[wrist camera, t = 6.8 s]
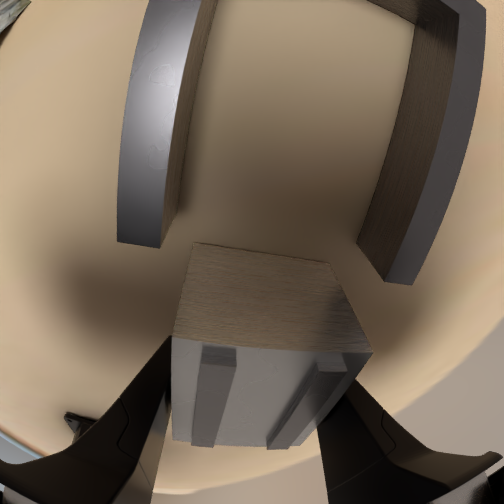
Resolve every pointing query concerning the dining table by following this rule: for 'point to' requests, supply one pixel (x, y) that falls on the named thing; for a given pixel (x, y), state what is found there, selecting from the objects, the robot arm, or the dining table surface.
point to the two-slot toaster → (260, 349)
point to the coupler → (398, 156)
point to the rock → (10, 11)
